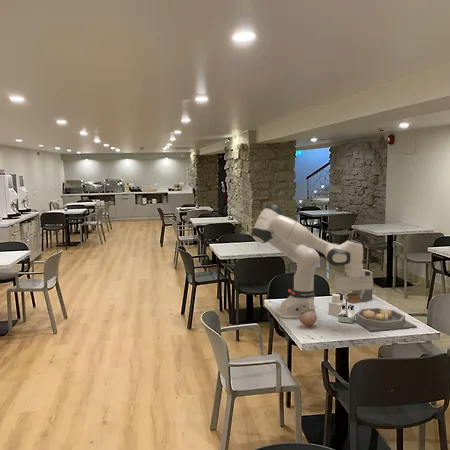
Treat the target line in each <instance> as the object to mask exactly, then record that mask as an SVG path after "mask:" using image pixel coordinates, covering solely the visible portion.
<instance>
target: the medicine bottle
mask: <svg viewBox="0 0 450 450" xmlns="http://www.w3.org/2000/svg"><path fill="white" fill-rule="evenodd" d="M341 305H344V306H346V307H347V301H344V294H343V293H342V292H341V293H340V292H334V293H332V295H331V301H329V302H328V315H330V316H335V317H338V314H339V313H340V312H341Z"/></svg>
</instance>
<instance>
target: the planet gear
mask: <svg viewBox="0 0 450 450" xmlns="http://www.w3.org/2000/svg"><path fill="white" fill-rule="evenodd" d="M346 295H347V296H348V299H347V300H346V301H345V302H346V303H348V304H352V305H353V304H354V305H356V304H359V303H361V302H360V295H359V294H357V293H352V292H347V293H346Z"/></svg>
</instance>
